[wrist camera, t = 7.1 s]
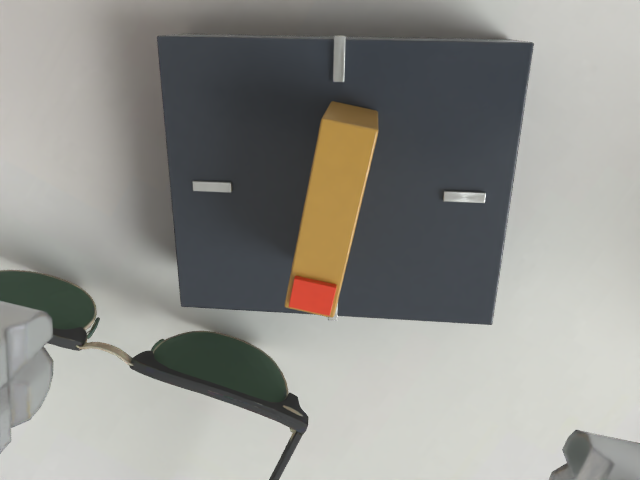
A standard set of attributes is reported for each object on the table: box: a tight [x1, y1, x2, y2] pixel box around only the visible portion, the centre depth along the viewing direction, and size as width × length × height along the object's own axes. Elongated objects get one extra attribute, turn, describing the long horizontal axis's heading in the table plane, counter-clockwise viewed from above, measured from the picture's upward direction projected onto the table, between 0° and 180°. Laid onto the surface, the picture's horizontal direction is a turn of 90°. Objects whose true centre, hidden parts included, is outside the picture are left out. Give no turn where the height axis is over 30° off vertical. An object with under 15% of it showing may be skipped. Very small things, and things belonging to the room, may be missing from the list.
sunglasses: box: [0, 270, 308, 480], centre depth 26 cm, size 16×17×5 cm
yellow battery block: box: [285, 101, 378, 318], centre depth 18 cm, size 6×2×4 cm, turn 169°
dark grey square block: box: [157, 34, 534, 325], centre depth 21 cm, size 12×10×3 cm
